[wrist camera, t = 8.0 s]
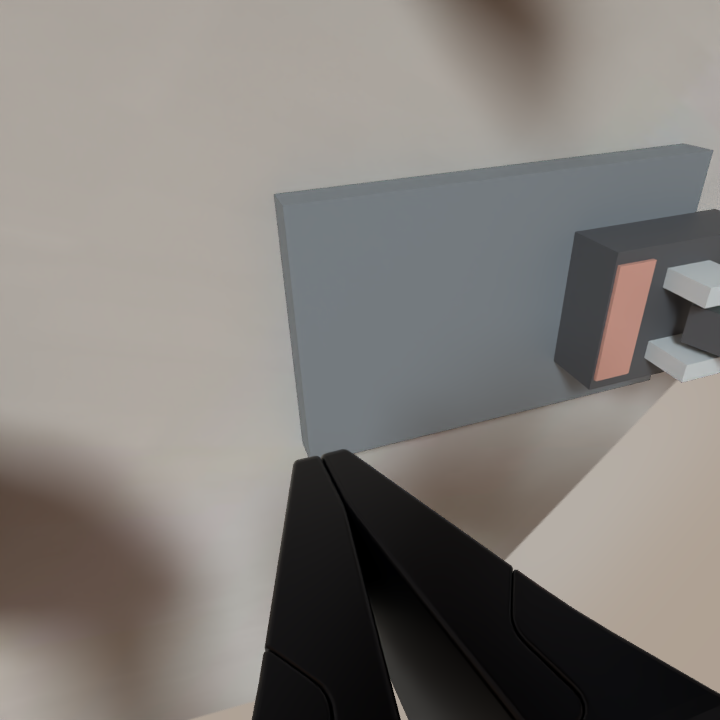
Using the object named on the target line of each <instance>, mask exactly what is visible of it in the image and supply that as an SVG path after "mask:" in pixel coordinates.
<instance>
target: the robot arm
mask: <svg viewBox="0 0 720 720" xmlns="http://www.w3.org/2000/svg"><path fill="white" fill-rule="evenodd" d="M390 679H391V680H390ZM391 682H392V684H393V686H394V688H395V691H396V693H397V695H398V697H399V699H400V702H401V704H402V706H403V709H404V711H405V713H406V715H407V718H408V720H720V694H719V693H717V692H716V691H714V690H712V689H710V688H708V687H707V686H705V685H703V684H701V683H700V682H698V681H696V680H695V679H693V678H691V677H689V676H688V675H686V674H684V673H682V672H681V671H679V670H677V669H676V668H674V667H672V666H670V665H669V664H667V663H665V662H663V661H662V660H660V659H658V658H656V657H655V656H653V655H651V654H649V653H648V652H646V651H644V650H643V649H641V648H639V647H637V646H636V645H634V644H632V643H630V642H629V641H627V640H625V639H624V638H622V637H620V636H618V635H617V634H615V633H613V632H611V631H610V630H608V629H606V628H605V627H603V626H602V625H600V624H598V623H597V622H595V621H593V620H592V619H590V618H589V617H587V616H585V615H583V614H582V613H580V612H578V611H577V610H575V609H574V608H572V607H571V606H569V605H568V604H566V603H565V602H563V601H562V600H560V599H559V598H557V597H556V596H554V595H553V594H551V593H550V592H548V591H547V590H545V589H544V588H542V587H541V586H539V585H538V584H537V583H535V582H534V581H532V580H531V579H529V578H528V577H527V576H525V575H524V574H522V573H521V572H520V571H518V570H514V571H513V568H512V566H511V565H509V564H508V563H507V562H505V561H504V560H502V559H501V558H500V557H498V556H497V555H495V554H494V553H492V552H491V551H490V550H488V549H487V548H485V547H484V546H483V545H481V544H480V543H478V542H477V541H476V540H474V539H473V538H471V537H470V536H469V535H467V534H466V533H464V532H463V531H461V530H460V529H459V528H457V527H456V526H454V525H453V524H452V523H450V522H449V521H447V520H446V519H445V518H443V517H442V516H440V515H439V514H438V513H436V512H435V511H433V510H432V509H430V508H429V507H428V506H426V505H425V504H423V503H422V502H421V501H419V500H418V499H416V498H415V497H414V496H412V495H411V494H409V493H408V492H407V491H405V490H404V489H402V488H401V487H399V486H398V485H397V484H395V483H394V482H392V481H391V480H390V479H388V478H387V477H385V476H384V475H383V474H381V473H380V472H378V471H377V470H376V469H374V468H373V467H371V466H370V465H368V464H367V463H366V462H364V461H363V460H361V459H360V458H359V457H357V456H356V455H354V454H353V453H352V452H350V451H349V450H346V449H341V450H336V451H332V452H328V453H325V454H323V455H322V456H321V458H320V457H319V456H312V457H308V458H304V459H300V460H296V461H295V462H294V464H293V470H292V476H291V483H290V489H289V496H288V502H287V509H286V515H285V521H284V528H283V534H282V541H281V547H280V553H279V560H278V566H277V573H276V579H275V585H274V592H273V598H272V605H271V611H270V618H269V624H268V630H267V637H266V643H265V652H264V654H263V660H262V666H261V673H260V679H259V684H258V690H257V695H256V700H255V705H254V711H253V716H252V720H401V719H400V715H399V711H398V707H397V704H396V699H395V696H394V692H393V688H392V684H391Z"/></svg>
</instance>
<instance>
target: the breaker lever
mask: <svg viewBox="0 0 720 720" xmlns="http://www.w3.org/2000/svg"><path fill="white" fill-rule="evenodd" d="M680 342H682V343H685V344H688V345H690V346H693V347H696V348H698V349H701V350H704V351H706V352H709V353H712V354H714V355H717V356H720V305H719V306H714V307H710V308H703V307H701V306H699V305H697V304H695V303H694V304H692V305H691V308H690V311H689V315H688V318H687V321H686V325H685V328H684V331H683V335H682V338H681V341H680Z"/></svg>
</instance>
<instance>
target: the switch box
mask: <svg viewBox="0 0 720 720" xmlns="http://www.w3.org/2000/svg"><path fill="white" fill-rule="evenodd" d="M712 153H713V150H710V149H705V148H701V147H696V146H692V145H687V144H677V145H669V146H661V147H653V148H645V149H637V150H629V151H620V152H612V153H604V154H596V155H588V156H580V157H572V158H564V159H556V160H547V161H539V162H531V163H523V164H515V165H507V166H499V167H491V168H483V169H474V170H466V171H458V172H450V173H442V174H434V175H426V176H418V177H410V178H401V179H393V180H385V181H377V182H369V183H361V184H353V185H345V186H337V187H328V188H320V189H312V190H304V191H296V192H288V193H280V194H274V199H275V208H276V217H277V225H278V234H279V243H280V251H281V260H282V268H283V277H284V286H285V294H286V303H287V311H288V320H289V329H290V337H291V346H292V355H293V363H294V372H295V380H296V389H297V398H298V406H299V415H300V423H301V432H302V441H303V445H304V447H305V450H306V452H307V455H308V457H312V456H319V457H320V458H321V456H322V455H323V454H325V453H328V452H332V451H336V450H341V449H346V450H349V451H350V452H352V453H357V452H361V451H365V450H369V449H373V448H377V447H381V446H385V445H389V444H393V443H397V442H401V441H405V440H409V439H413V438H417V437H421V436H425V435H430V434H434V433H438V432H442V431H446V430H450V429H454V428H458V427H462V426H466V425H470V424H474V423H478V422H482V421H486V420H490V419H494V418H498V417H502V416H506V415H510V414H514V413H518V412H522V411H526V410H530V409H534V408H538V407H542V406H546V405H550V404H554V403H558V402H562V401H566V400H570V399H574V398H578V397H582V396H586V395H591V394H595V393H599V392H603V391H607V390H611V389H615V388H619V387H623V386H627V385H631V384H635V383H639V382H643V381H647V380H650V377H651V375H652V374H656V373H661V372H666V373H668V374H669V375H671V376H672V377H674V378H675V379H677V380H678V381H680V382H681V383H682V382H686V381H690V380H694V379H698V378H702V377H705V376H709V375H714V374H718V373H720V356H717V355H714V354H712V353H709V352H706V351H704V350H701V349H698V348H696V347H693V346H690V345H688V344H685V343H682V342H680V341H681V338H682V335H683V331H684V328H685V325H686V321H687V318H688V315H689V311H690V308H691V305H692V304H694V303H695V304H697V305H699V306H701V307H703V308H710V307H714V306H719V305H720V211H719V210H716V209H712V210H706V211H700V212H696V211H697V207H698V203H699V200H700V196H701V193H702V189H703V185H704V182H705V178H706V175H707V171H708V167H709V164H710V160H711V156H712Z"/></svg>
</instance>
